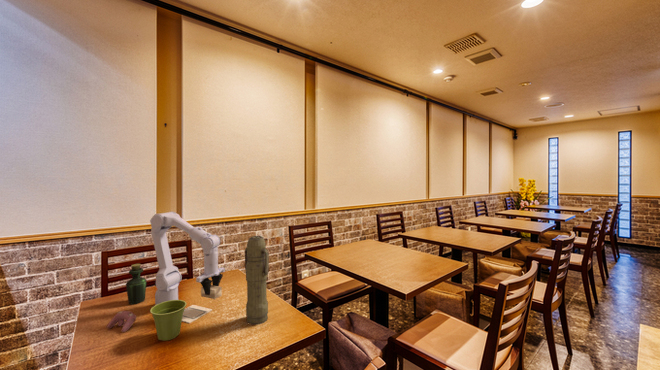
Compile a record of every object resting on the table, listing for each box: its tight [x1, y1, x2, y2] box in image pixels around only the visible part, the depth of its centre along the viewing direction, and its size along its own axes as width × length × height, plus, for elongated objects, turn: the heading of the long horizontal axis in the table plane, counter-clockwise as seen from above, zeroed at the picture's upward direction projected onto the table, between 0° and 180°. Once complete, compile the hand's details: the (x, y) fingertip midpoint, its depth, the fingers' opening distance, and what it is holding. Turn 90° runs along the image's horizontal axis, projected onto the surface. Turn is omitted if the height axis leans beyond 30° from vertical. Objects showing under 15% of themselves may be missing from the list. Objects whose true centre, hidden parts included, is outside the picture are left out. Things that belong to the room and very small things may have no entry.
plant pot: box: [149, 299, 187, 342], centre depth 103 cm, size 12×12×11 cm
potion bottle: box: [125, 263, 147, 305], centre depth 131 cm, size 8×8×18 cm
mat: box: [182, 304, 213, 324], centre depth 119 cm, size 12×12×1 cm
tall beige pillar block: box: [200, 284, 223, 300], centre depth 122 cm, size 4×8×4 cm, turn 68°
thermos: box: [244, 235, 270, 326], centre depth 114 cm, size 9×12×35 cm
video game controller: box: [106, 310, 137, 333], centre depth 109 cm, size 10×5×7 cm, turn 71°
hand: (211, 292), depth 122 cm, fingers closed on tall beige pillar block, 4 cm apart
